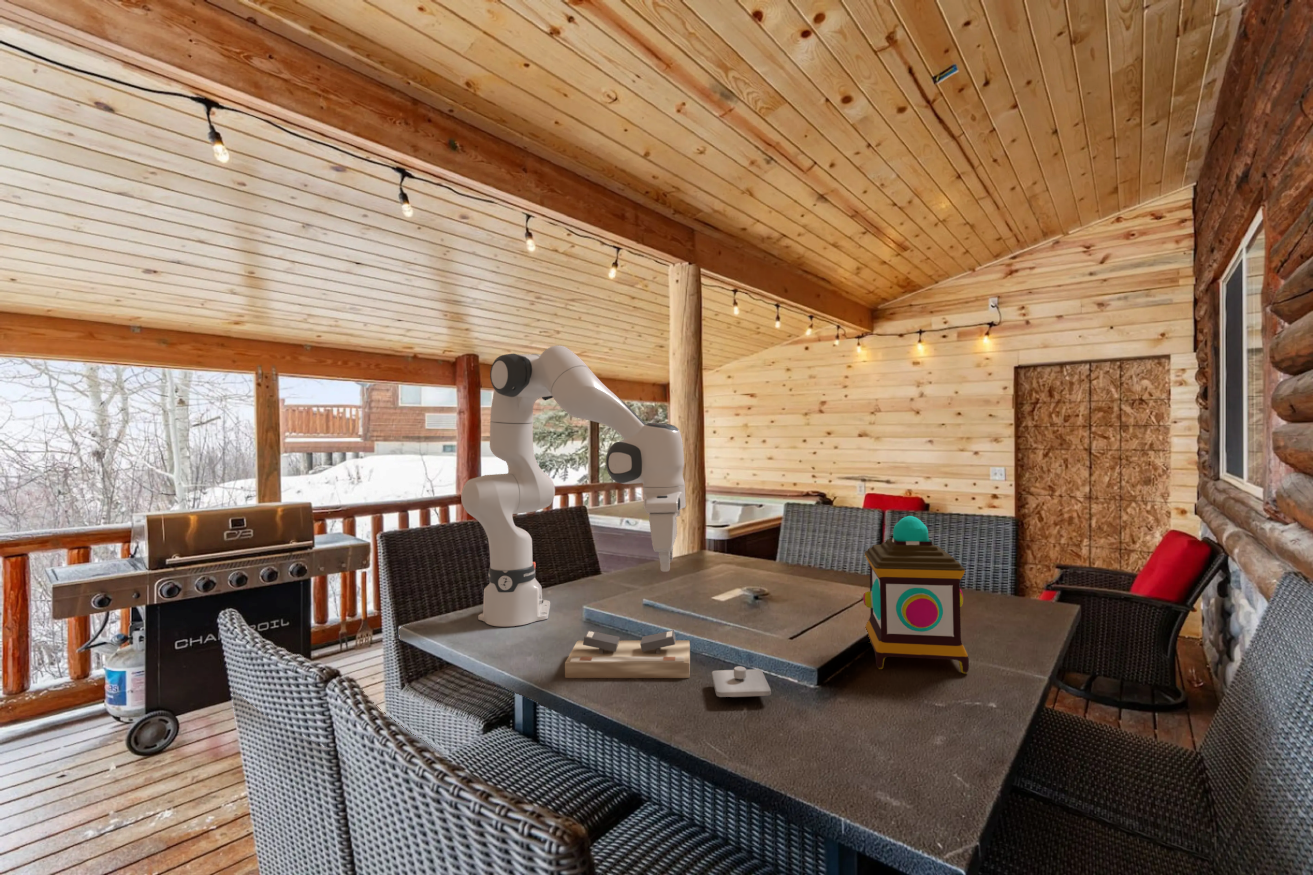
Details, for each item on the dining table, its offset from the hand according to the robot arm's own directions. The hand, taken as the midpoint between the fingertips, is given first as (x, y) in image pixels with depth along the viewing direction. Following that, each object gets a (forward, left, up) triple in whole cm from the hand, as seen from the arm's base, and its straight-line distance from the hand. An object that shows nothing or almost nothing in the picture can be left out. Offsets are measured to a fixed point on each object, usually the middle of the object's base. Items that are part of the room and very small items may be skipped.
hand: (667, 566), depth 126 cm
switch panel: (0, -8, -21) cm, 23 cm away
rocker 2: (0, -2, -16) cm, 16 cm away
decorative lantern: (-5, +52, -21) cm, 56 cm away
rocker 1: (0, -14, -16) cm, 21 cm away
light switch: (+14, +14, -21) cm, 29 cm away
